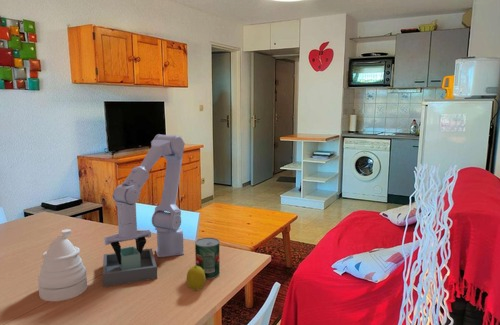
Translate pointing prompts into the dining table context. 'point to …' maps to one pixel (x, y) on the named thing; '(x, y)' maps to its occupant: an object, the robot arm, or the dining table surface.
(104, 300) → the dining table surface
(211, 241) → the canned tomato
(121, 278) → the charcoal crate
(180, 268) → the dining table surface
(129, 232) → the robot arm
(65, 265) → the honey pot
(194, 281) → the lemon
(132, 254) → the teal crate
